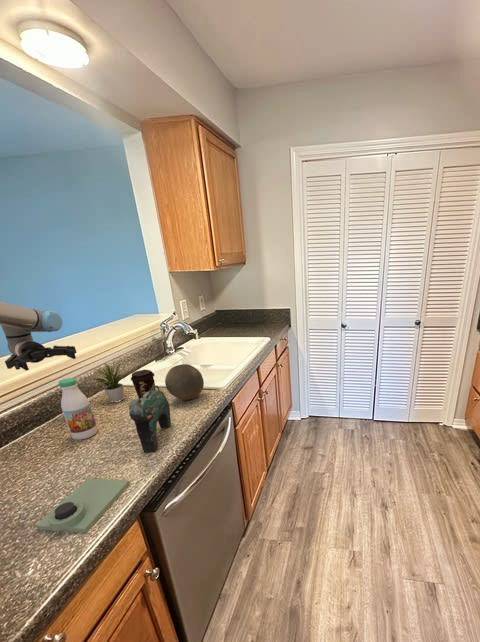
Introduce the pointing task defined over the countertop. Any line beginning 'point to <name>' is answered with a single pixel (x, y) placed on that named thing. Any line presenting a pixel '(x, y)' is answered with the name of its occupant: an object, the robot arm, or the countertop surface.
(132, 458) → the countertop surface
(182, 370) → the dark brown ball
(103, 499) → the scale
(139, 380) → the coffee cup
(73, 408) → the milk bottle
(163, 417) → the teal painted figure
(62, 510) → the tare button
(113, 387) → the house plant
